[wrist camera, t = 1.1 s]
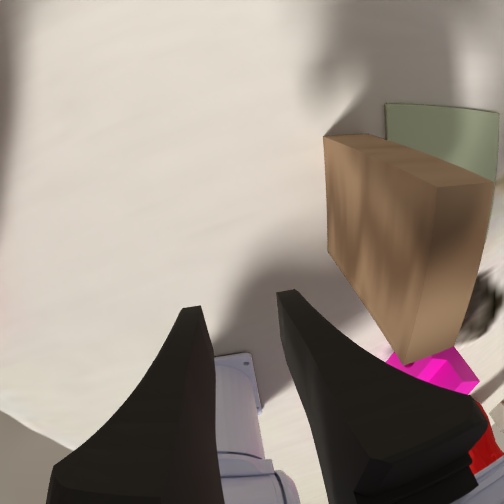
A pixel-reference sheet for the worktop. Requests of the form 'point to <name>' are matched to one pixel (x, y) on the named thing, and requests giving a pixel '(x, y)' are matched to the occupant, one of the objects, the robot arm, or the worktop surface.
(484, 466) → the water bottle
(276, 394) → the worktop surface
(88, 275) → the worktop surface
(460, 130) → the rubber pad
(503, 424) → the white paper bag
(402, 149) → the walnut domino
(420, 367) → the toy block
